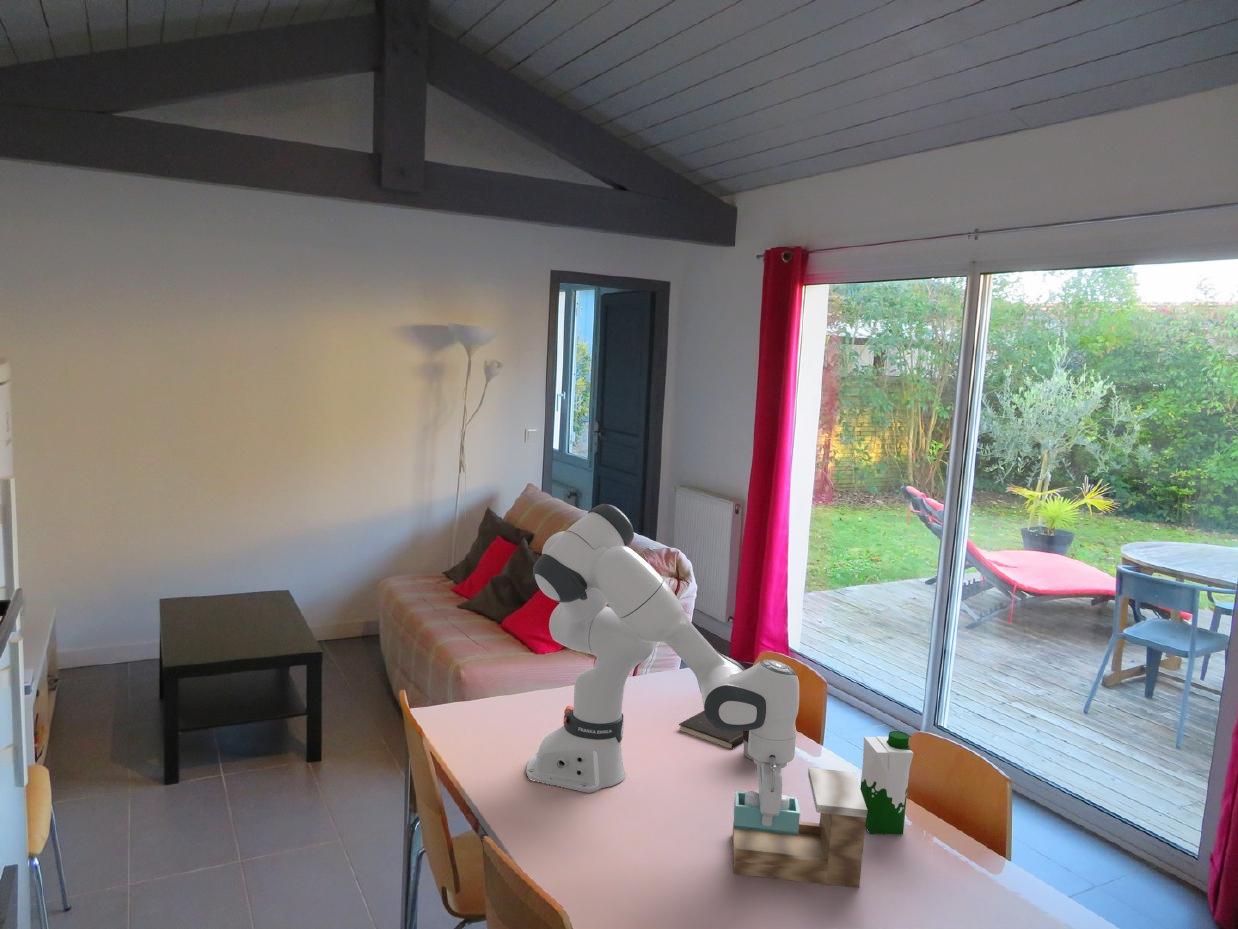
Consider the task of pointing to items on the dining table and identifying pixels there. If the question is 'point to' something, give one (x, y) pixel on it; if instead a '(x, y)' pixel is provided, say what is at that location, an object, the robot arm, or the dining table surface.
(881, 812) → the milk carton
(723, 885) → the dining table surface
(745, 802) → the tray
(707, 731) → the hardcover book
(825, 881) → the counter
